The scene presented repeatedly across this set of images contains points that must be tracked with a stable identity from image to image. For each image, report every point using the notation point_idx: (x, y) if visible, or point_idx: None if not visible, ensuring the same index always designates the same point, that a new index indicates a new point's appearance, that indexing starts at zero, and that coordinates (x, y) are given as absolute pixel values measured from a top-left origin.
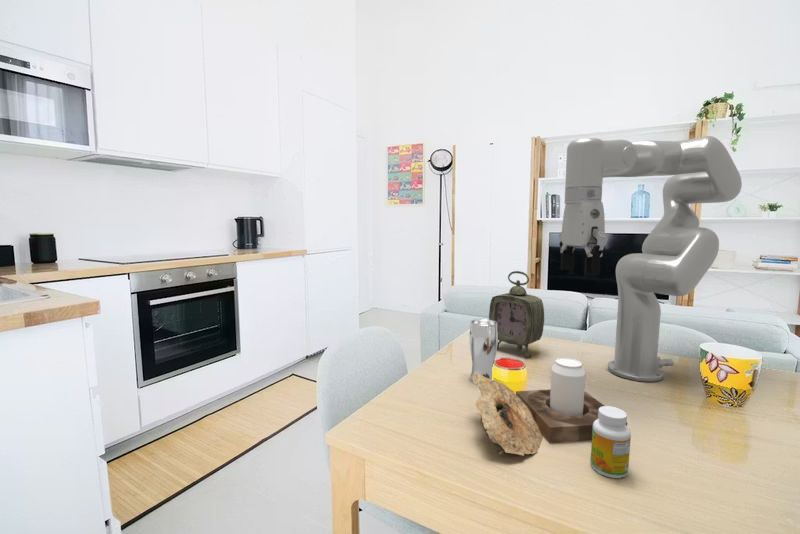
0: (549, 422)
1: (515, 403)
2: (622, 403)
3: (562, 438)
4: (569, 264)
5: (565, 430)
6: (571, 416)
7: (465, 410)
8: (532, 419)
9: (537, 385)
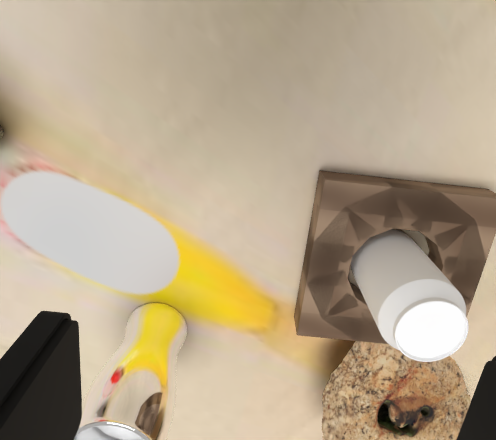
0: None
1: (368, 376)
2: (365, 69)
3: None
4: (58, 405)
5: None
6: None
7: (290, 407)
8: None
9: (212, 219)
